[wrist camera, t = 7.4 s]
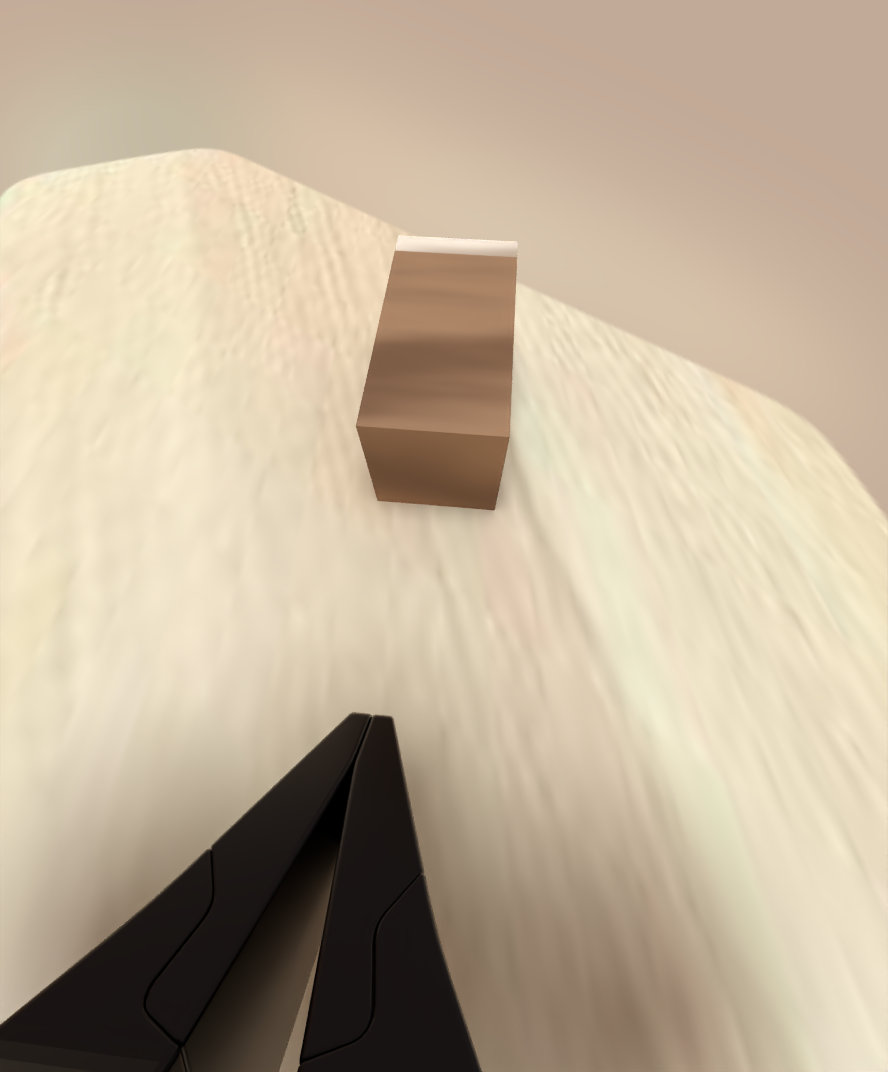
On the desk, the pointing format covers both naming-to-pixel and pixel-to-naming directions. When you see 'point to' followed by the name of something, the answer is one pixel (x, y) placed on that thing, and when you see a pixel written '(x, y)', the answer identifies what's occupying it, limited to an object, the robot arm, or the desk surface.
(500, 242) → the beige tall block
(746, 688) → the desk surface
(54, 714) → the desk surface
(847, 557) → the desk surface
